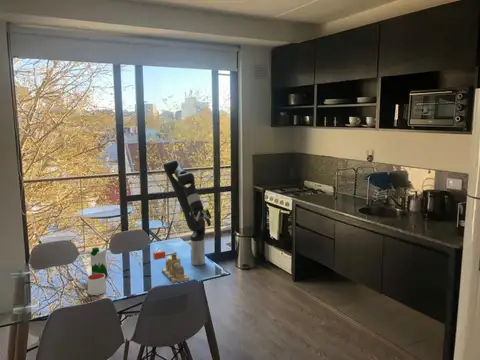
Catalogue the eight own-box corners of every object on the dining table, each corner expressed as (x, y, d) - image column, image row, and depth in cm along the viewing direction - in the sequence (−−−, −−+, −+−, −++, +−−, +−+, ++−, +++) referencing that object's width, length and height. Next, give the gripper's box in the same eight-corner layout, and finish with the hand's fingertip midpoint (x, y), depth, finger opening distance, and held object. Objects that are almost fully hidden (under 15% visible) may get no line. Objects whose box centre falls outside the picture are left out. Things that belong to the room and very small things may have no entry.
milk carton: (89, 279, 264) (87, 249, 261) (98, 274, 272) (96, 244, 269) (101, 280, 261) (98, 250, 258) (110, 275, 269) (107, 245, 266)
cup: (91, 289, 247) (89, 273, 245) (108, 288, 248) (106, 272, 246) (86, 296, 237) (84, 280, 235) (104, 295, 238) (102, 279, 236)
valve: (161, 271, 273) (160, 251, 271) (176, 268, 278) (175, 249, 276) (173, 283, 252) (172, 262, 250) (189, 280, 257) (188, 259, 255)
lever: (153, 258, 258) (152, 252, 258) (175, 254, 265) (175, 248, 265) (154, 260, 256) (154, 253, 255) (177, 255, 262) (176, 249, 262)
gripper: (200, 204, 260) (209, 227, 255) (182, 206, 250) (191, 230, 245) (207, 198, 255) (216, 222, 250) (189, 200, 245) (198, 225, 240)
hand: (204, 226), depth 247 cm, fingers open, 8 cm apart
